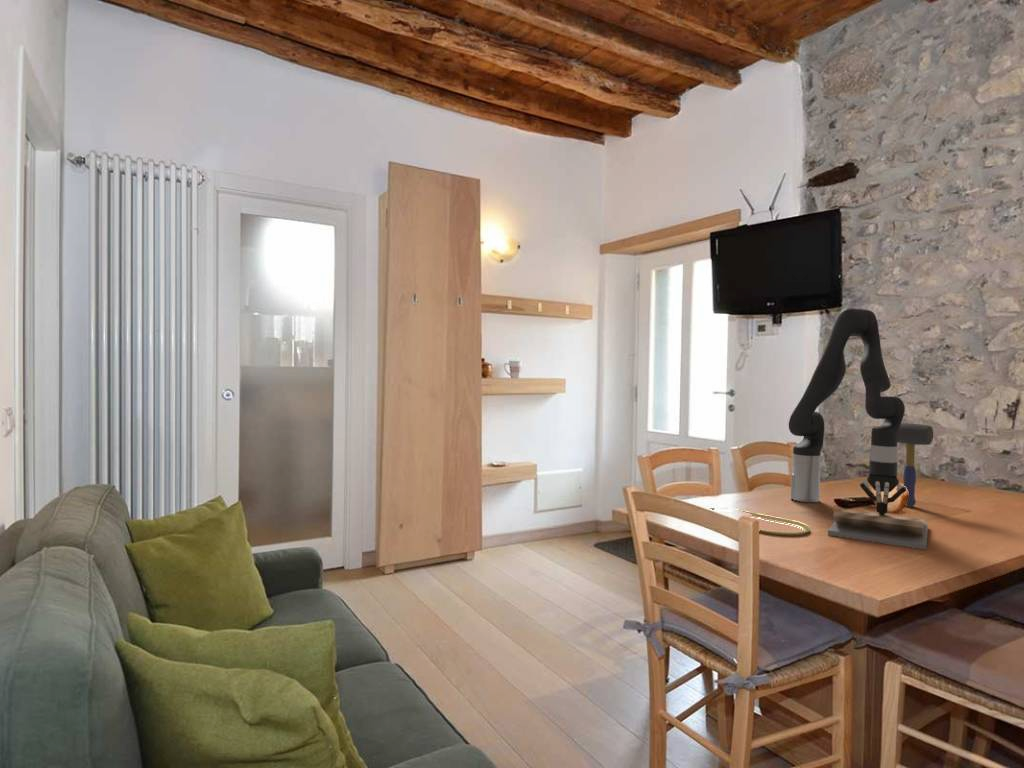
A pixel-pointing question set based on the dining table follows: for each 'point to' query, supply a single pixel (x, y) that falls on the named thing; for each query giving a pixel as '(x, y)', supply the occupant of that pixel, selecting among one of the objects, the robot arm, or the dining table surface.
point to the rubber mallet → (913, 452)
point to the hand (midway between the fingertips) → (881, 514)
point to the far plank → (884, 515)
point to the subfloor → (880, 535)
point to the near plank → (879, 523)
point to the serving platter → (796, 523)
